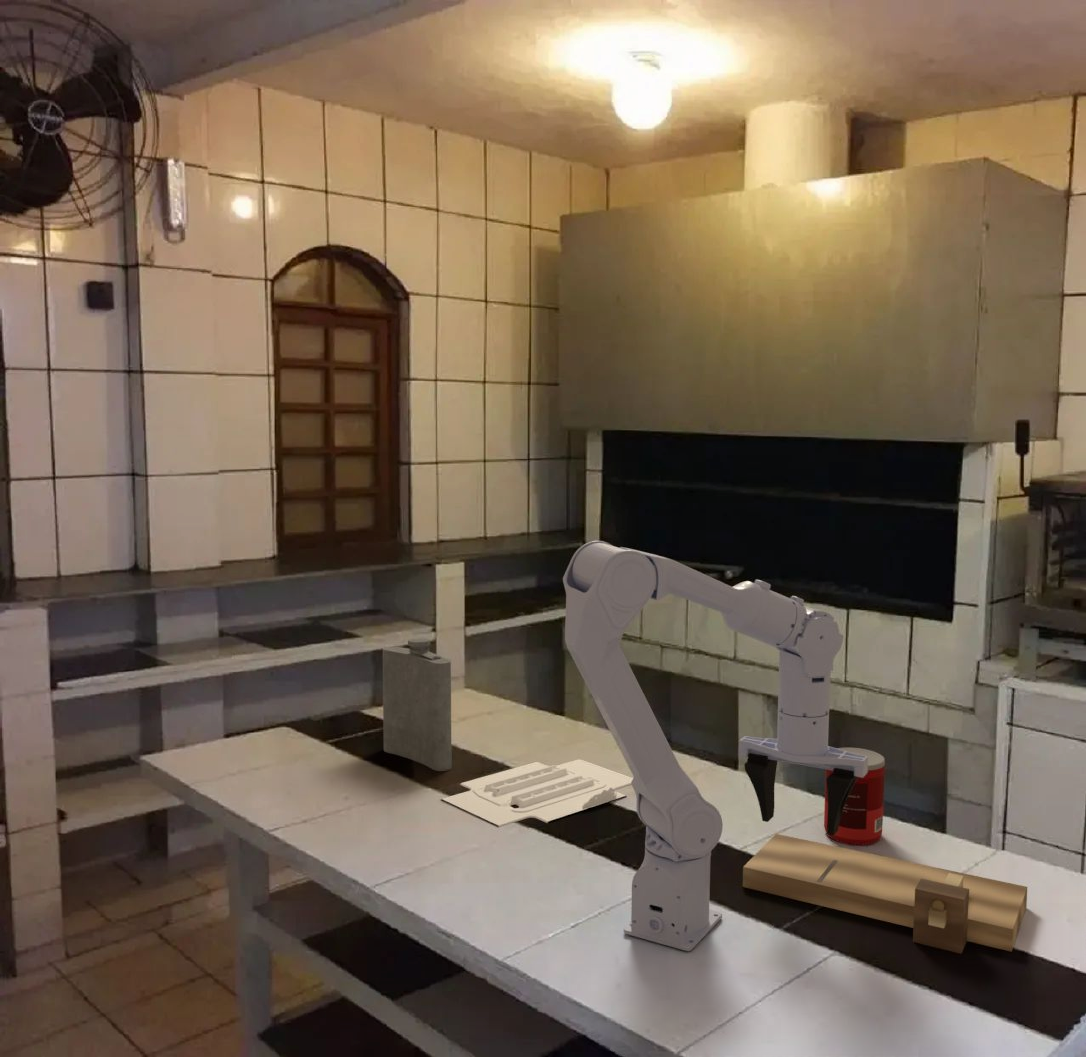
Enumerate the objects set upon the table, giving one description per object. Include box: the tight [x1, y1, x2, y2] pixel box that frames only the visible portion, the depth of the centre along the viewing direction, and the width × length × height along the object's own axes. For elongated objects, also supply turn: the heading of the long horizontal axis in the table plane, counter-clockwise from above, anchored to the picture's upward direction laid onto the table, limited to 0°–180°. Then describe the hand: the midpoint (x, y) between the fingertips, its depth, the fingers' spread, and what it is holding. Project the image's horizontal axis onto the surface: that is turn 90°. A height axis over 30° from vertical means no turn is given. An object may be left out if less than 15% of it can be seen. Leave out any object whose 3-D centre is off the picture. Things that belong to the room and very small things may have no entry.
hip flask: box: [382, 637, 452, 772], centre depth 176 cm, size 16×4×20 cm, turn 45°
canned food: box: [823, 747, 886, 846], centre depth 145 cm, size 8×8×11 cm
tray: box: [440, 759, 634, 828], centre depth 162 cm, size 20×28×4 cm
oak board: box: [742, 833, 1028, 952], centre depth 126 cm, size 12×30×2 cm, turn 59°
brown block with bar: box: [912, 873, 969, 955], centre depth 118 cm, size 11×5×6 cm, turn 149°
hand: (799, 825), depth 124 cm, fingers open, 7 cm apart
